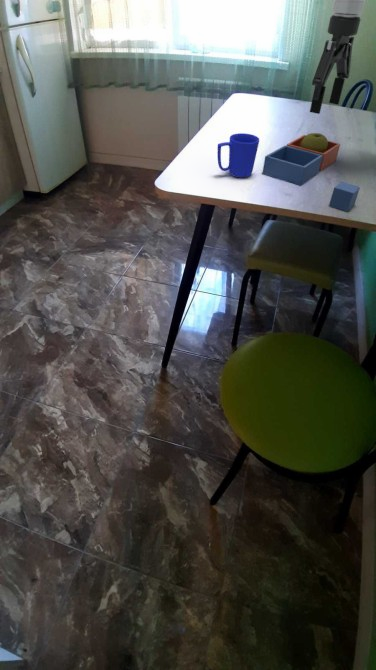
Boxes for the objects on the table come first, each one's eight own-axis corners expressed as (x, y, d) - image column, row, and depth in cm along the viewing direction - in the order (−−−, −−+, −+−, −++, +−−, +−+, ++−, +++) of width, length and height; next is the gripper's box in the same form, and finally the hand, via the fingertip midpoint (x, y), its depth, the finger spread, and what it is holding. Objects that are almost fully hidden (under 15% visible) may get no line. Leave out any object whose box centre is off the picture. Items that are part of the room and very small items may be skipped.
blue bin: (318, 172, 123) (323, 155, 120) (300, 185, 116) (304, 167, 112) (281, 162, 128) (285, 145, 125) (262, 173, 121) (265, 156, 117)
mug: (209, 171, 120) (212, 135, 114) (245, 167, 124) (250, 132, 117) (221, 183, 115) (225, 145, 108) (259, 177, 119) (265, 141, 112)
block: (354, 205, 108) (360, 186, 104) (347, 211, 105) (353, 193, 101) (336, 199, 110) (341, 181, 106) (328, 206, 107) (334, 187, 103)
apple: (326, 163, 127) (333, 139, 122) (301, 163, 127) (306, 138, 122) (319, 154, 133) (325, 131, 128) (295, 154, 132) (300, 130, 127)
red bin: (335, 160, 131) (340, 143, 128) (320, 171, 124) (324, 154, 120) (300, 151, 136) (304, 134, 133) (283, 161, 129) (286, 144, 125)
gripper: (349, 11, 113) (329, 97, 128) (311, 16, 98) (293, 114, 113) (376, 13, 110) (352, 102, 124) (341, 19, 95) (318, 119, 109)
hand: (324, 108), depth 119 cm, fingers open, 13 cm apart
